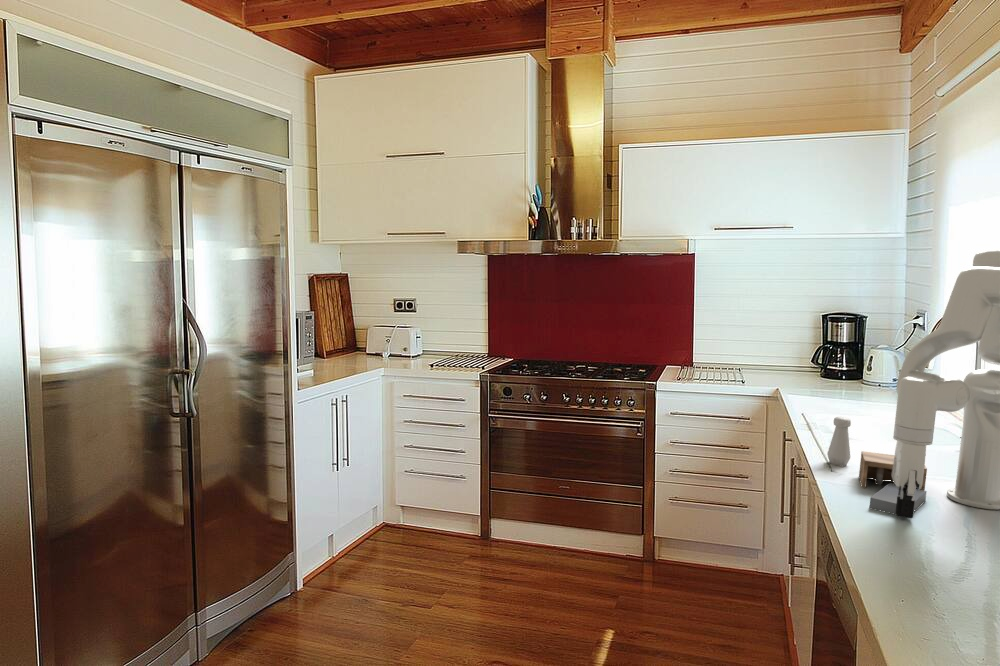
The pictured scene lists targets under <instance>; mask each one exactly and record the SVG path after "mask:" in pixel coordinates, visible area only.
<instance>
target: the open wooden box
mask: <svg viewBox="0 0 1000 666" xmlns="http://www.w3.org/2000/svg"><path fill="white" fill-rule="evenodd" d="M894 455H895V454H887V453H879V452H871V451H864V450H863V451H862V450H861V453H860V463H859V471H858V472H859V473H858V477H860V479H859V481H861V482H860V486H861V485H862V486H861V488H862V487H863V488H864V489H866V487H867V480H868V479H867V478H873V479H872V480H874V479H876V480H874V481H875V484H876V483H877V484H876V485H883V482H884V481H883V480H891V481H893V479H892V468H893V462H894ZM927 471H928V468H927V466H926V465H925V467H924V475H923V482H922V488H921V489H920V490H924V491H926V490H925V489H926V480H927V473H928V472H927Z"/></svg>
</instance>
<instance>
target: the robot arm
mask: <svg viewBox="0 0 1000 666" xmlns="http://www.w3.org/2000/svg"><path fill="white" fill-rule="evenodd" d="M940 321H941V322H940V324H939V325H938V326H937V328H936V329H935V330H933V331H932V332H930V333H929V334H927V335H925V337H923V338H922V339H920V340H919V341H918V342H917V343H916V344H915V345H914V346H913V347H912V348H911V349H910V350H909V352H908V353H907V354H906V356H905V358H904V361H903V363H902V365H901V369H900V371H899V375H898V376H897V377H898V378H897V381H896V394H897V401H896V409H895V418H894V429H893V436H892V439H893V440H895V441H896V445H895V449H894V454H893V455H894V462H893V468H892V479H893V481H894V482H893V484H895V485H896V486H897V487H899V490H898V496H897V504H896V515H895V516H897V517H900V518H908V519H912V518H913V517H914V513H913V511H914V502H915V500H914V499H915V492H916V488H917V490H920V489H921V488H922V482H923V475H924V467H925V466H926V465H925V464H926V456H927V455H926V454H927V446H931V445H933V439H934V432H935V424H936V415H937V411H938V412H947V413H953V412H958V411H961V410H962V409H963V417H962V418H963V419H962V427H961V428H962V431H961V438H960V446H959V454H958V460H957V461H958V462H957V469H956V479H955V487H953V488H950V489H948V490H947V491H946V496H947V497H948V499H950V500H952V501H954V502H956V503H959V504H962V505H964V506H969V507H972V508H973V507H974V508H977V509H984V510H998V511H1000V370H996V369H995V370H994V369H987V368H986V369H985V368H984V369H976V370H973V371H970V372H969V373H968V374H966V376H965V377H964V378H963V379H964V380H962V379H960V378H956V377H953V376H947V375H946V376H945V375H941V374H937V373H931V372H925V370H926V368H927V366H928V364H929V363H930V362H931V361H932V360H934V359H935V358H936V357H937V356H939V355H941V354H943V353H945V352H948V351H951V350H954V349H958V348H961V347H966V346H969V345H973V344H976V343H978V342H979V343H978V355H979V357H980V359H981V360H982V361H984V363H985V362H986V363H988V364H992V365H997V366H1000V247H992V248H989V247H988V248H984V249H981V250H979V251H978V252H977V253H975V254H974V257H973V260H972V266H971V267H968V268H965V269H963V270H962V271H961V272H960V273H959V274H958V276H957V278H956V280H955V283H954V286H953V287H952V291H951V294H950V296H949V300H948V301H947V303H946V307H945V310H944V313H943V314H942V318H941V320H940ZM899 496H900V497H899Z"/></svg>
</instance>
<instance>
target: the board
mask: <svg viewBox="0 0 1000 666" xmlns="http://www.w3.org/2000/svg"><path fill="white" fill-rule="evenodd" d="M898 490H899V487H897V486H896V485H895V483H893V482H889V483H887V485H885V486H883V488H881V489H880V490H878V491H877V492H876V493H874V494H873V495H872V496H870V500H869V509H870V508H872V509H871V510H874V509H876V511H878V510H881V511H880V512H882V511H885V512H884V513H886V512H890V513H889V514H891V513H894V514H893V515H895V514H896V504H897V496H898ZM899 497H900V496H899ZM926 497H927V490H925V491H924V490H917V489H916V492H915V499H914V500H915V502H914V510H916V509H917V508H918V507H919V506H920V505H921V504H922V503H923V502H924V503H926ZM924 503H923V504H924ZM923 504H922V505H923ZM922 505H921V506H922ZM921 506H920V507H921ZM920 507H919V508H920ZM919 508H918V509H919ZM918 509H917V510H918ZM917 510H916V511H917Z"/></svg>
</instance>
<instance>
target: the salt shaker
mask: <svg viewBox="0 0 1000 666" xmlns="http://www.w3.org/2000/svg"><path fill="white" fill-rule="evenodd" d="M851 424H852V421H851V419H850V418H848V417H845V416H836V417H834V418H833V426H835V428H834V432H833V435H832V438H831V441H830V444H829V447H828V450H827V453H826V454H827V459H828V461H829V464H831V465H834V466H836V467H838V466H839V467H845V466H847V465H848V463H849V461H850V460H851V450H850V449H851V447H850V439H849V428H850V427H851V426H852V425H851Z"/></svg>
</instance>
